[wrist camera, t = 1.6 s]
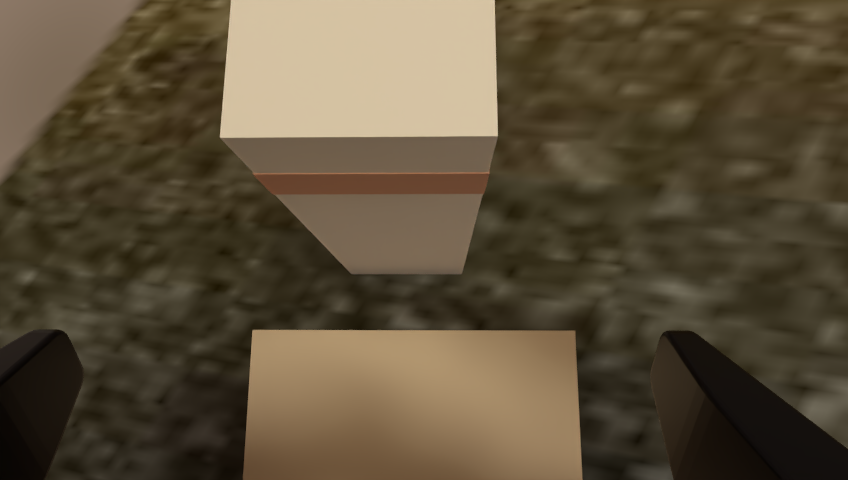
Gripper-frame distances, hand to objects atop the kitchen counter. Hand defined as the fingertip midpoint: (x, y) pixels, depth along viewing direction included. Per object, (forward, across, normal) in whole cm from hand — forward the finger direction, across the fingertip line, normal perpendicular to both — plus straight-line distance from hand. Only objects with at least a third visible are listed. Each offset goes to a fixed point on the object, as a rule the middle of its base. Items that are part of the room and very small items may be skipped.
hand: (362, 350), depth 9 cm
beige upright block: (+12, 0, +5) cm, 13 cm away
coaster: (+5, 0, +12) cm, 13 cm away
